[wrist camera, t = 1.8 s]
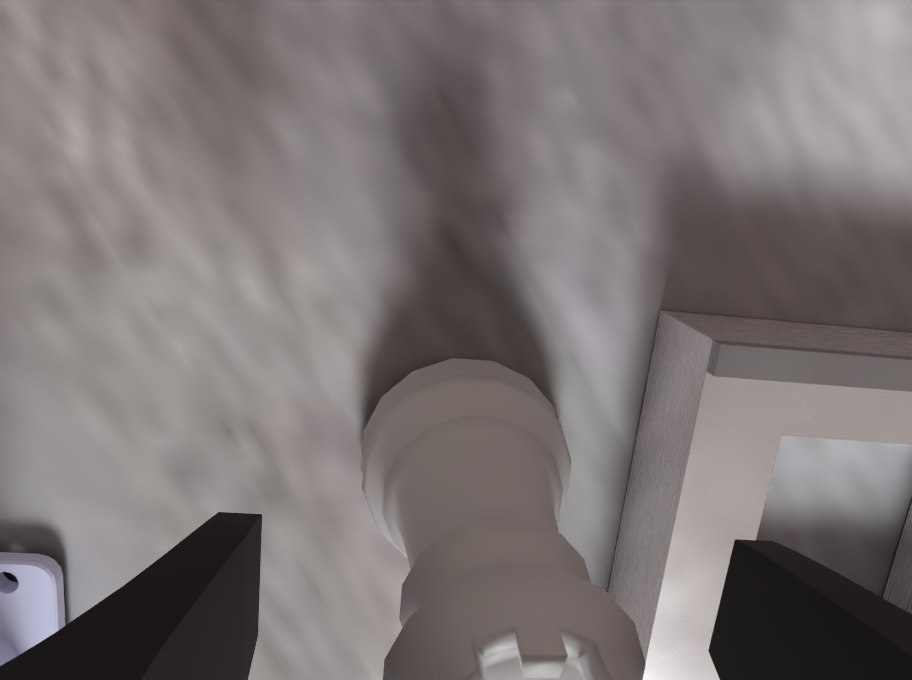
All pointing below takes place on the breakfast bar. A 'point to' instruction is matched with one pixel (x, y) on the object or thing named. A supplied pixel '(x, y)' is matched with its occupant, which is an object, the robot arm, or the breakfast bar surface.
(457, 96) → the breakfast bar surface
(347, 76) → the breakfast bar surface
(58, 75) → the breakfast bar surface
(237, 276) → the breakfast bar surface
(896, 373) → the block
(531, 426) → the rook chess piece
